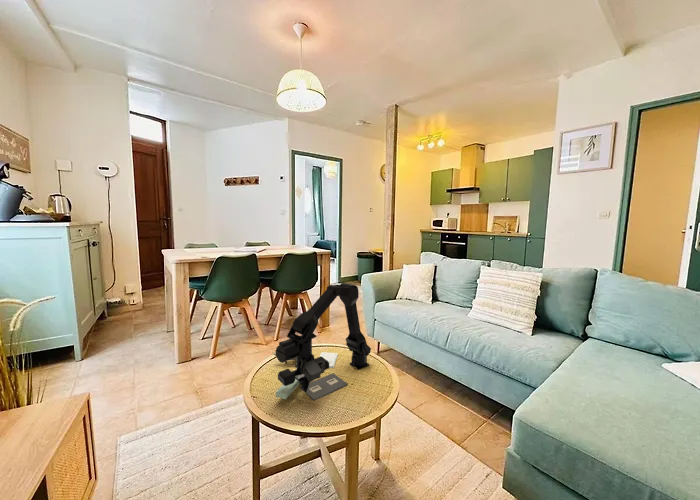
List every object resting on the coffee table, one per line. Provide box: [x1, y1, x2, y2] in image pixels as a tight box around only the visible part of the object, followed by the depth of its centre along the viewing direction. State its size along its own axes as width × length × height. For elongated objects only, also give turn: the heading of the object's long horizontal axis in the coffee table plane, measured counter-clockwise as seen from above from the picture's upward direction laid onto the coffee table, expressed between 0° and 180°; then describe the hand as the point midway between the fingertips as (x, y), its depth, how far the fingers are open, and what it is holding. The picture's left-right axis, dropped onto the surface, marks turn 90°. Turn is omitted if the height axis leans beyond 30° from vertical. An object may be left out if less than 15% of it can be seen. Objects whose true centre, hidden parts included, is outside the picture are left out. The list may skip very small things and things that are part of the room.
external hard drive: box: [319, 351, 339, 369], centre depth 134 cm, size 2×8×12 cm
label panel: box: [299, 373, 349, 402], centre depth 116 cm, size 16×15×2 cm
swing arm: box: [275, 379, 300, 400], centre depth 111 cm, size 18×4×2 cm, turn 161°
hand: (304, 391), depth 107 cm, fingers closed
